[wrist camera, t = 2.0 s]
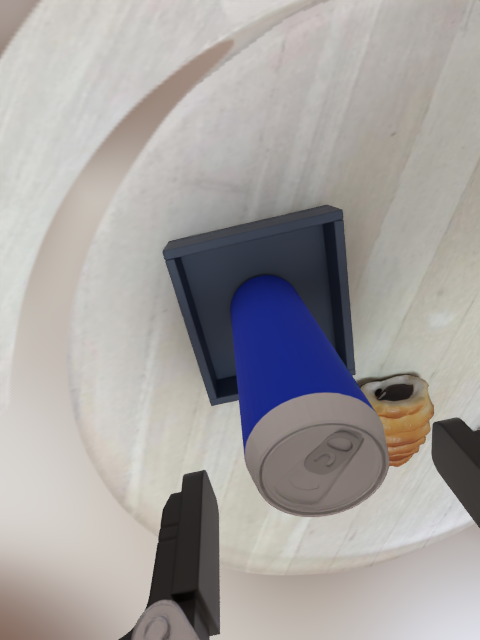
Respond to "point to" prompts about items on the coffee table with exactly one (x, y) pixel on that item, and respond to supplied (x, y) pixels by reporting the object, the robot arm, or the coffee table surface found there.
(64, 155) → the coffee table surface
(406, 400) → the pastry
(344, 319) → the tray
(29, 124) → the coffee table surface
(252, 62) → the coffee table surface
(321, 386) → the beverage can
